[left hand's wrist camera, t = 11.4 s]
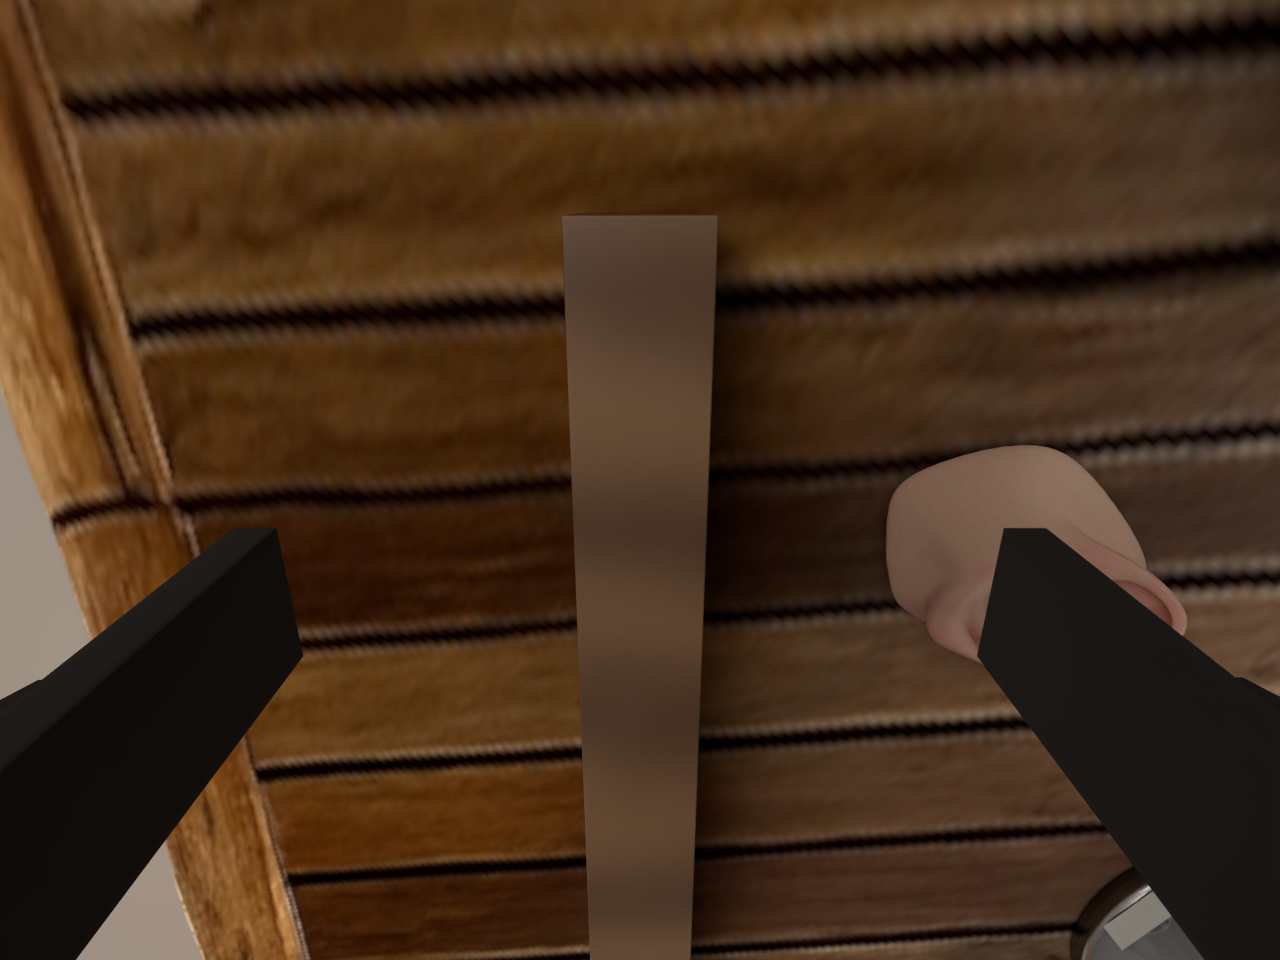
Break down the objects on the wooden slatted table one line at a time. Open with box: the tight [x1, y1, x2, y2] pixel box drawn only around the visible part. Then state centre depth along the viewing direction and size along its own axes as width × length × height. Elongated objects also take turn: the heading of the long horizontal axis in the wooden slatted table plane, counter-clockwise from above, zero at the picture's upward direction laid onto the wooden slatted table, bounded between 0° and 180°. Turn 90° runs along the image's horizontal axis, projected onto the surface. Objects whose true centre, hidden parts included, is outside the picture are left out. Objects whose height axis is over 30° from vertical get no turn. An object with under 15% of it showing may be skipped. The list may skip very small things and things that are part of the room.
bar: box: [561, 213, 719, 960], centre depth 37 cm, size 61×5×7 cm, turn 0°
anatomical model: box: [886, 445, 1187, 666], centre depth 33 cm, size 13×4×12 cm
